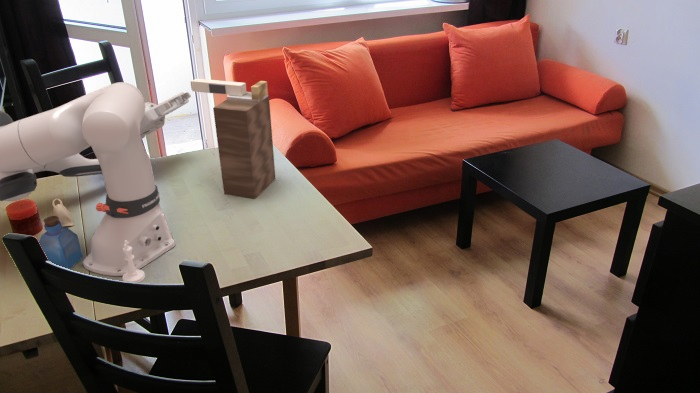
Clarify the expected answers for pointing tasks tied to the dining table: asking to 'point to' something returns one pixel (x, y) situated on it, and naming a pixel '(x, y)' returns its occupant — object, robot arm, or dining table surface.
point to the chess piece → (131, 266)
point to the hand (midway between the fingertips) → (179, 99)
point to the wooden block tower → (245, 142)
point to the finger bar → (218, 87)
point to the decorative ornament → (62, 214)
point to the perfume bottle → (60, 243)
